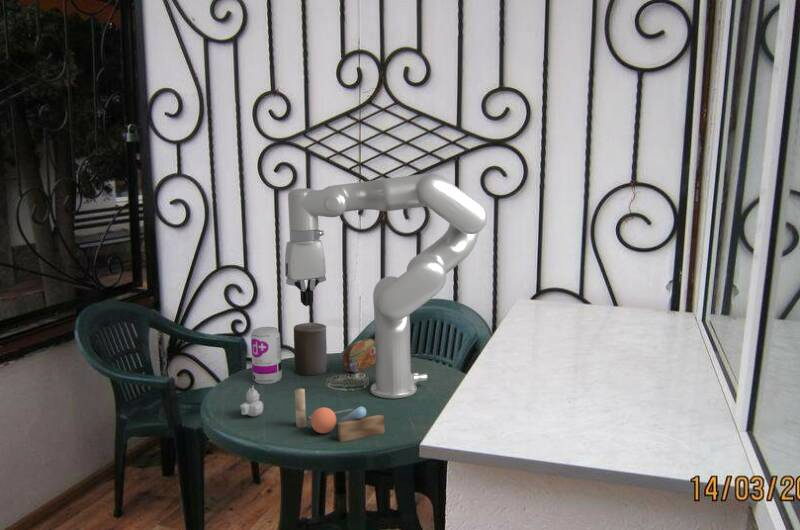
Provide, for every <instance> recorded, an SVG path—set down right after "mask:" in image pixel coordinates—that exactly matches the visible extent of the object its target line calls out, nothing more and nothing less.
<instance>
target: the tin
mask: <svg viewBox="0 0 800 530" xmlns="http://www.w3.org/2000/svg"><path fill="white" fill-rule="evenodd" d="M342 358H343V359H342V360H343V361H342V362H343V366H344V369H345V371H348V373H349V372H352V373H355V374H356V373H357V372H358V373H359V372H361V371H364V370H366V369H367V368H369V367H372V366H373V365H375V364H376V360H375V338H363V339H360V340H358V341H356V342H354V343H351V344H349V345H347V347H346V348H345V350H344V352H343V355H342Z"/></svg>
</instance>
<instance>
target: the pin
mask: <svg viewBox="0 0 800 530" xmlns="http://www.w3.org/2000/svg"><path fill="white" fill-rule="evenodd" d="M366 415H367V409H366V407H364V406H359V407H357V408H355V409H354V411H350V413H348V414H346V415H345V416H343V417H342V418H341V419H340V422H339V423H341V422H346V421H351V420H356V419H361V418H365V416H366Z"/></svg>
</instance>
